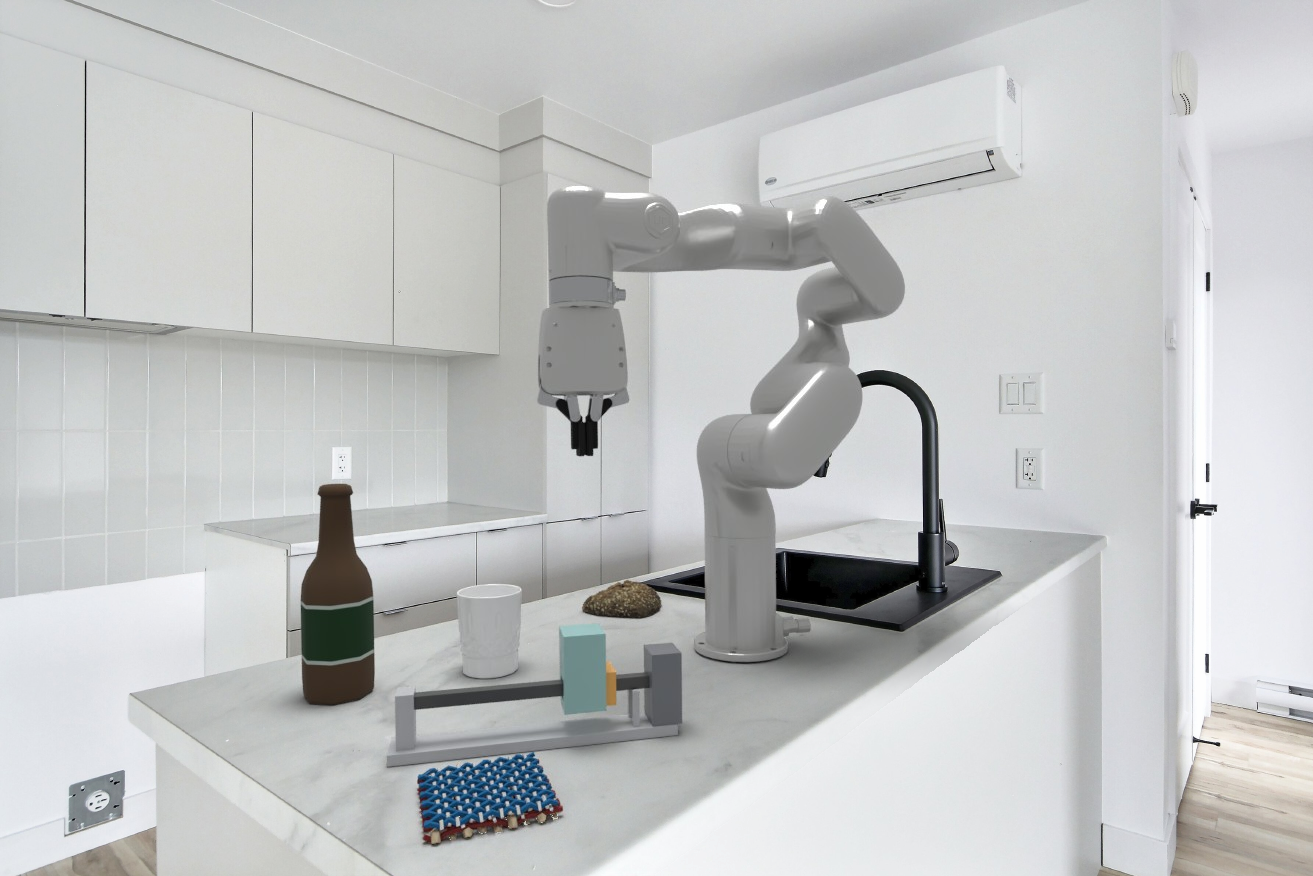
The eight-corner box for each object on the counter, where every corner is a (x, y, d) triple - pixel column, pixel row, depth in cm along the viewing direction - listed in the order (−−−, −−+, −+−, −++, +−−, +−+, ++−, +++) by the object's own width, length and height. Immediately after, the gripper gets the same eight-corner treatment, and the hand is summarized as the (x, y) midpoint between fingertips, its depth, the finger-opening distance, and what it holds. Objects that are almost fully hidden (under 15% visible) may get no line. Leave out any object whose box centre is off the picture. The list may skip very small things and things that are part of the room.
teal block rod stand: (672, 719, 78) (671, 642, 78) (682, 734, 74) (682, 653, 74) (391, 748, 71) (390, 664, 71) (386, 766, 67) (385, 678, 67)
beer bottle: (329, 711, 81) (325, 488, 80) (286, 698, 85) (282, 485, 84) (389, 689, 87) (386, 483, 87) (347, 678, 92) (343, 481, 91)
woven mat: (567, 826, 58) (567, 800, 58) (423, 856, 54) (423, 828, 54) (539, 769, 68) (539, 746, 68) (416, 790, 64) (415, 767, 64)
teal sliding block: (599, 696, 76) (598, 623, 76) (606, 710, 72) (605, 633, 72) (560, 699, 75) (559, 626, 75) (564, 714, 71) (563, 637, 71)
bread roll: (641, 623, 117) (641, 591, 116) (573, 615, 122) (572, 584, 122) (675, 605, 128) (675, 576, 128) (611, 598, 133) (611, 570, 133)
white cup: (507, 682, 89) (506, 598, 89) (446, 679, 91) (445, 596, 91) (531, 662, 97) (530, 584, 97) (474, 658, 99) (473, 582, 98)
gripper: (637, 304, 93) (640, 452, 94) (514, 302, 90) (518, 456, 90) (651, 294, 86) (654, 455, 86) (518, 291, 82) (522, 459, 83)
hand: (584, 455), depth 88 cm, fingers closed
